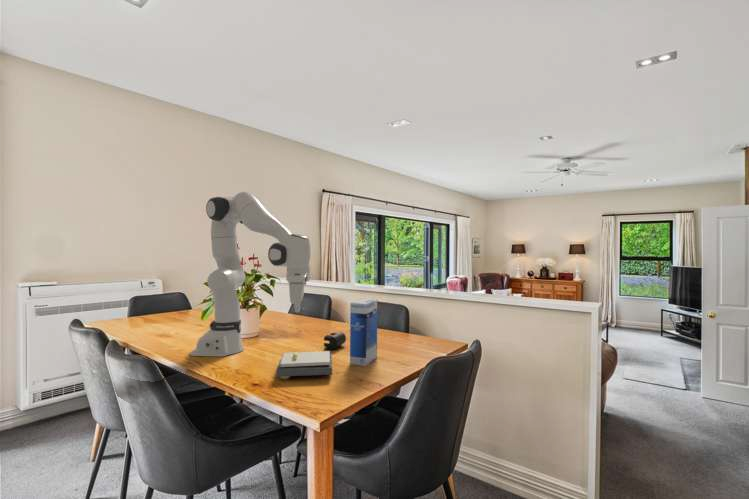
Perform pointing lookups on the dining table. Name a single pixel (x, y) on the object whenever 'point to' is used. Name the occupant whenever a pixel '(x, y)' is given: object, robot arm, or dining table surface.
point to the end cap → (334, 340)
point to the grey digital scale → (303, 370)
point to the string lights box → (363, 331)
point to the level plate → (305, 359)
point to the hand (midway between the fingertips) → (297, 311)
